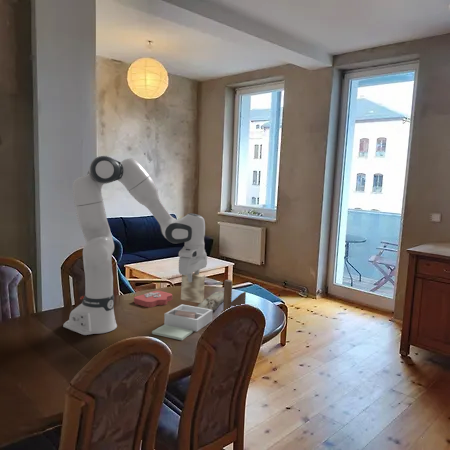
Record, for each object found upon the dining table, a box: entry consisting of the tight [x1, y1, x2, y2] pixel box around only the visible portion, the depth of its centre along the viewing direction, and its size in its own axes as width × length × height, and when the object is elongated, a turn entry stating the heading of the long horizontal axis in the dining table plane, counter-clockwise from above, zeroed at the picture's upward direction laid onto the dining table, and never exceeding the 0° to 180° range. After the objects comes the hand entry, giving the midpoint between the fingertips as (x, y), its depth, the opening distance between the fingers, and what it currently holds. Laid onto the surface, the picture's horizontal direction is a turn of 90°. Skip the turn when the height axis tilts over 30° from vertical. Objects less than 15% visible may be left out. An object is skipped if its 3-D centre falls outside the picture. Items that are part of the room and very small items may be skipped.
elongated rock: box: [196, 290, 224, 312], centre depth 212 cm, size 35×5×10 cm
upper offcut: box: [175, 311, 196, 319], centre depth 182 cm, size 8×4×3 cm, turn 80°
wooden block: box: [221, 279, 247, 313], centre depth 189 cm, size 4×11×18 cm, turn 54°
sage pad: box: [151, 324, 194, 341], centre depth 173 cm, size 14×9×1 cm, turn 66°
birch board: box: [180, 273, 206, 304], centre depth 187 cm, size 10×3×12 cm, turn 66°
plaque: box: [133, 290, 173, 308], centre depth 213 cm, size 18×4×15 cm
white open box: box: [163, 304, 214, 332], centre depth 185 cm, size 16×15×5 cm
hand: (193, 280), depth 186 cm, fingers closed on birch board, 3 cm apart
